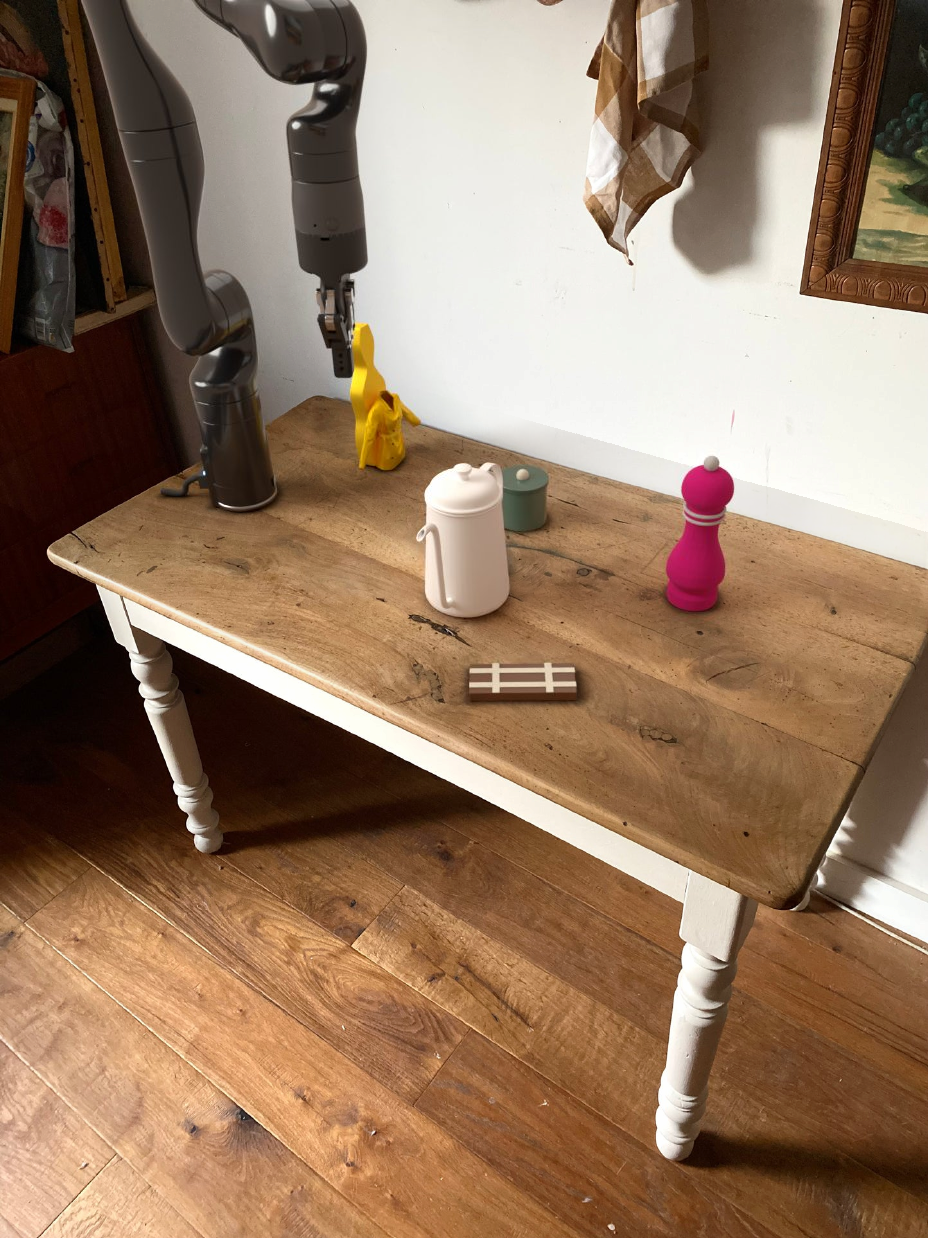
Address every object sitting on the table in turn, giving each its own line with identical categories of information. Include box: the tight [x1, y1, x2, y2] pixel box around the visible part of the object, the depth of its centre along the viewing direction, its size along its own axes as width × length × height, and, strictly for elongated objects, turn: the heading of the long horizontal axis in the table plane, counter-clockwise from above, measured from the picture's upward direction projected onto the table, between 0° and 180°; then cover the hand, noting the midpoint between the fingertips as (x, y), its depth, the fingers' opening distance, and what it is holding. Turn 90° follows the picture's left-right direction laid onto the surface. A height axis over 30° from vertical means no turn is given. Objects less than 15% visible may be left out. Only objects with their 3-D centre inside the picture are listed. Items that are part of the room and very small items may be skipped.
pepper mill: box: [665, 455, 735, 612], centre depth 110 cm, size 7×7×20 cm
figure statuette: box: [349, 322, 422, 471], centre depth 141 cm, size 18×8×22 cm, turn 151°
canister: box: [501, 464, 550, 533], centre depth 130 cm, size 7×7×8 cm
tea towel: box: [468, 662, 578, 702], centre depth 104 cm, size 12×5×1 cm, turn 89°
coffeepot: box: [416, 462, 511, 618], centre depth 112 cm, size 11×25×19 cm, turn 158°
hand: (344, 375), depth 108 cm, fingers closed
